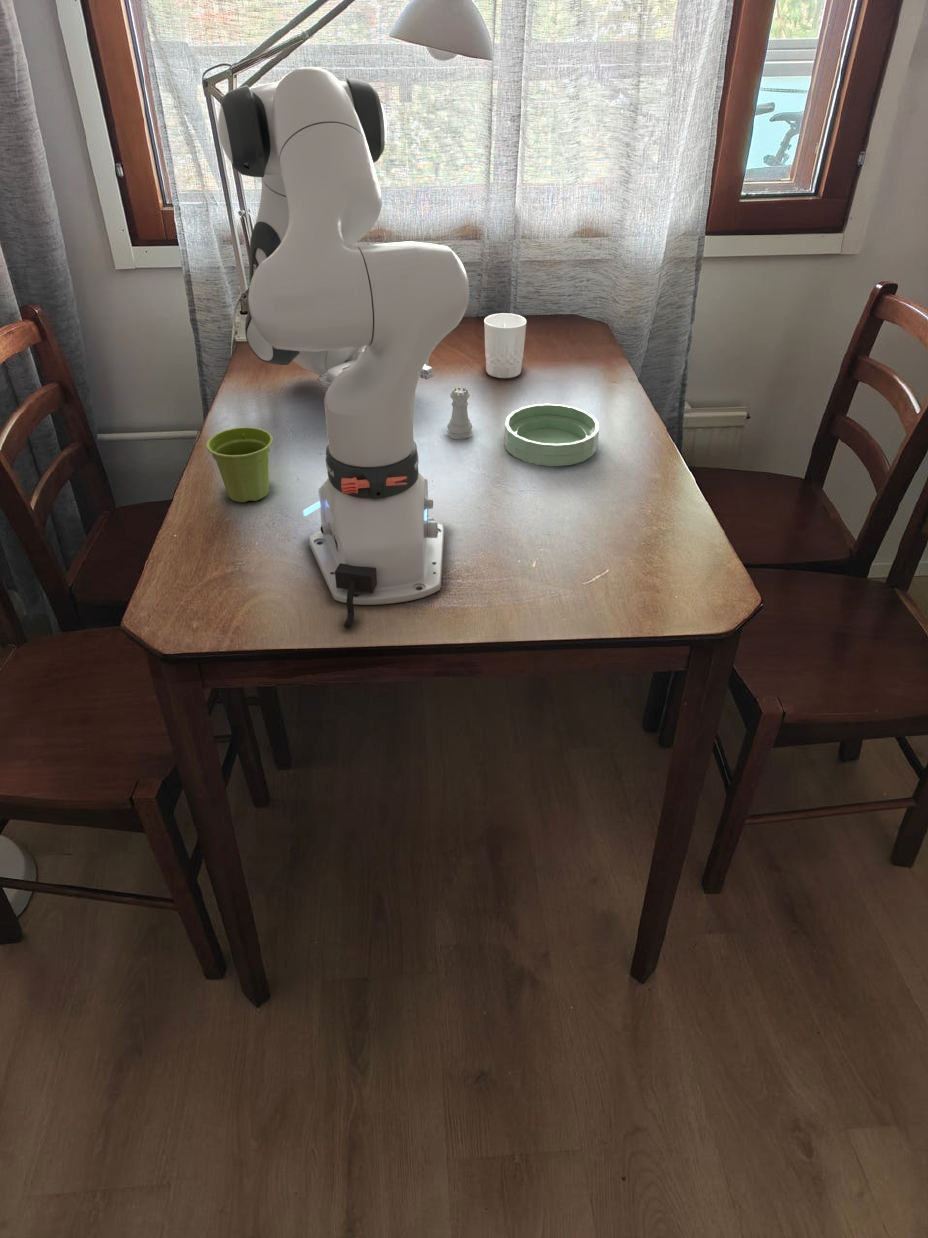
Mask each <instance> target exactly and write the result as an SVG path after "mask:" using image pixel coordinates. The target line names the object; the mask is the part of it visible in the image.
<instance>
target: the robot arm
mask: <svg viewBox="0 0 928 1238" xmlns="http://www.w3.org/2000/svg"><path fill="white" fill-rule="evenodd" d="M219 106H220V109H219V113H218V120H217V131H218V137H219V142H220V144H221V147H222V149H223V151H224V153H225V155H226V157H227V159H228V160H229V161H230V164H231V166H232V168H233V169H235V170H236V171H237V172H238V173H239V174H240V175H242V176H245V177H251V178H252V177H253V178H261V179H260V180H261V191H260V201H259V207H258V213H257V216H256V220H255V224H254V226H253V229H252V232H251V236H250V241H249V259H248V260H249V261H248V262H249V265H248V267H249V270H248V271H249V276H248V279H249V280H248V281H249V283H248V284H249V285H248V295H247V296H248V297H247V298H248V310H247V314H246V317H245V324H244V331H245V332H244V333H245V334H244V335H245V339H246V342H247V345H248V347H249V348H250V350H251V351H252V352H253V354H254V355H255V356H256V357H257V358H258V359H259V360H261V361H262V362H265V363H268V364H271V365H278V366H288V365H289V364H291V363H292V362H293V363H294V364H296V365H298V366H299V367H301V368H302V369H304V370H307V371H309V372H311V373H313V374H316V375H318V378H317V382H318V384H319V385H321V386H324V387H326V388H327V390H326V392H325V395H324V399H323V403H324V412H325V413H324V414H325V424H326V434H327V446H326V447H325V467H326V471H327V479H326V480H325V482H324V483H323V484H322V485H321V486H320V487H319V488H318V499H319V500H318V501H317V502H315V503H313V504H311V505H310V506H309V507H307V508H305V509H303V510H302V513H303V516H304V517H306V516H308V515H310V514H311V513H313V512H314V511H316V510H318V509H319V510H320V522H321V525H320V530H317V531H316V532H314V533H312V534H311V535H310V536H309V540H308V541H309V547H310V549H311V552H312V554H313V556H314V559H315V561H316V563H317V565H318V567H319V569H320V572H321V574H322V576H323V578H324V581H325V582H326V586H327V587H328V590H329V591H330V594H331V596H332V598H333V599H334V601H337V602H340V603H344V604H346V612H347V617H346V620H345V622H344V625H343V626H344V628H346V629H350V628H351V627H352V624H353V622H354V619H355V609H354V605H360V606H374V605H375V606H376V605H387V604H388V605H389V604H396V603H397V604H398V603H405V602H410V601H415V600H419V599H422V598H425V597H429V596H430V595H433V594H435V593H436V592H438V591H440V589H441V587H442V576H443V560H444V543H445V528H444V525H443V524H442V523H440V522H438V521H437V520H435V519H434V517H430V513H429V510H433V509H434V499H433V498H431V497H430V498H429V485H428V483H429V482H428V479H427V478H425V476H423V475H422V474H420V473H419V464H420V463H419V462H420V461H419V453H418V447H417V443H416V442H415V440H414V411H415V397H416V390H417V385H418V383H419V379H420V378H421V379H425V380H429V379H431V378H433V377H434V369H433V367H432V366H429V358H430V356H431V355H432V353H433V352H434V350H435V349H436V348H437V346H438V345H439V344H440V343H441V341H443V340H444V338H445V337H447V336H448V335H449V334H450V333H451V332H452V331H453V330H454V329H456V328H457V327H458V325H459V324H460V323H461V321H462V320H463V318H464V316H465V313H466V311H467V308H468V305H469V299H470V283H469V282H470V281H469V277H468V274H467V271H466V268H465V266H464V264H463V262H462V261H461V259H460V257H459V256H458V254H456V253H455V251H453V250H452V249H451V247H449V246H447V245H442V244H435V243H429V242H419V241H411V240H410V241H409V240H408V241H399V242H398V241H397V242H386V243H375V244H374V243H373V244H365V245H363V244H362V245H356V244H357V243H358V242H359V241H360V240H362V239H363V238H364V237H365V236H366V235H367V234H369V232H370V230H372V229H373V227H374V226H375V224H376V222H377V221H378V219H379V216H380V213H381V210H382V205H383V200H382V199H383V197H382V196H383V195H382V190H381V186H380V184H379V180H378V176H377V172H376V169H375V166H374V164H376V163H377V162H378V161H379V159H380V158H381V156H382V155H383V153H384V150H385V145H386V138H387V127H388V126H387V116H386V112H385V109H384V106H383V104H382V101H381V99H380V96H379V93H378V92H377V90H376V89H375V88H374V86H372V84H371V83H369V82H368V81H365V80H363V79H362V80H361V79H356V78H344V80H339V79H338V78H337V77H336V76H335V75H334V74H333V73H331V72H329V71H328V70H326V69H324V68H321V67H317V66H301V67H298V68H295V69H292V70H291V71H289V72H288V73H287V74H285V75H284V76H283V77H282V78H281V79H280V80H279V81H273V82H270V83H265V84H259V85H256V86H252V87H249V86H248V85H243V86H240V87H236V88H234V89H231V90H230V91H227V92H226V94H225V95H224V96H223V98H222V100H221V101H220V105H219Z"/></svg>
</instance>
